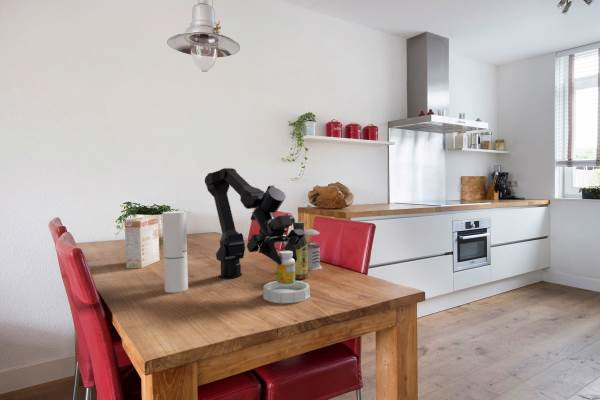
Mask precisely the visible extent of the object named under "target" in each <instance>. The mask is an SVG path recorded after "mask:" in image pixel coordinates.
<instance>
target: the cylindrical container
mask: <svg viewBox="0 0 600 400" xmlns="http://www.w3.org/2000/svg"><path fill="white" fill-rule="evenodd" d="M187 236H188V235H187V211H179V210H177V211H176V210H175V211H163V212H162V246H163V250H162V251H163V272H164V273H163V276H164V277H163V278H164V292H166V293H168V294H169V293H174V294H175V293H181V292H185V291H187V290H188V289H189V283H188V280H189V279H188V277H189V276H188V274H189V273H188V245H187V244H188V243H187V241H188V240H187V238H188V237H187Z"/></svg>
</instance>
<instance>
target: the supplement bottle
mask: <svg viewBox="0 0 600 400" xmlns="http://www.w3.org/2000/svg"><path fill="white" fill-rule="evenodd" d="M278 254H279V256H280V258H281V261H282V264H281V265H279V264H278V263H276V271H277V272H276V275H277V277H276V279H277V280H276V281H277V283H278V285H282V286H290V285H293V284H295V281H296V279H295V260H294V259H293V258H292V256H293V252H292V251H285V250H280V251H279V252H278Z"/></svg>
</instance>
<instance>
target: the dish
mask: <svg viewBox="0 0 600 400" xmlns="http://www.w3.org/2000/svg"><path fill="white" fill-rule="evenodd" d="M262 296H263V299H264V300H265V301H268V302H270V303H273V304H297V303H301V302H305V301H306V300H309V299H310V298H311V286H310V283H307V282H305V281H302V280H295V284H293V285H290V286H282V285H278V283H277V280H274V281H270V282H268V283H265V284H264V285H263V295H262Z"/></svg>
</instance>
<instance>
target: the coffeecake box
mask: <svg viewBox="0 0 600 400" xmlns="http://www.w3.org/2000/svg"><path fill="white" fill-rule="evenodd" d="M159 234H160V233H159V217H158V216H142V217H135V218H132V219H131V218H130V219H127V220H124V235H125V236H124V239H125V258H126V259H125V261H126V265H125V266H126V269H143V268H146V267H148V266H150V265H152V264H154V263H157V262H160V241H159V240H160V237H159Z"/></svg>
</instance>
